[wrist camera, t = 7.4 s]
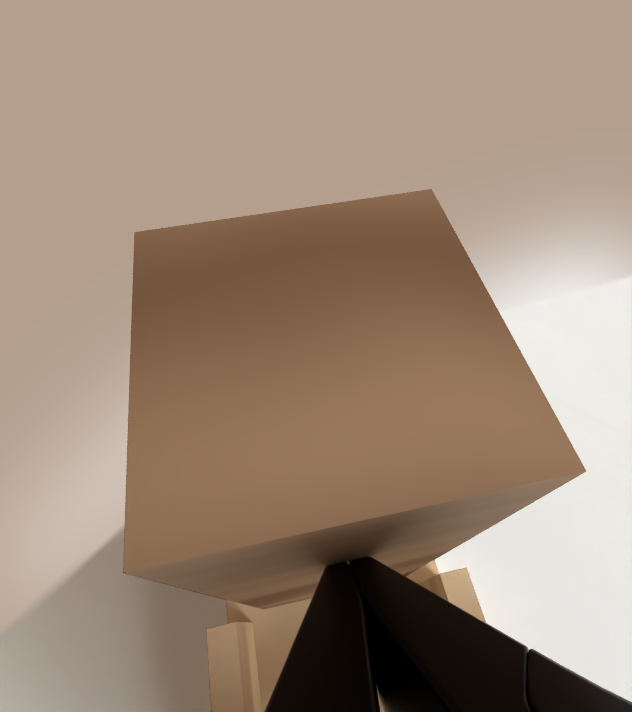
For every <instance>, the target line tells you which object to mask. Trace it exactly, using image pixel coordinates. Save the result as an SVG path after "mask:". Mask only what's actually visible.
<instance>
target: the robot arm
mask: <svg viewBox="0 0 632 712" xmlns="http://www.w3.org/2000/svg"><path fill="white" fill-rule="evenodd" d="M377 691H378V692H377ZM378 694H379V698H380V701H381V703H382V706H383V709H384V712H632V702H630V701H628V700H626V699H624V698H622V697H620V696H618V695H616V694H614V693H612V692H610V691H608V690H606V689H604V688H602V687H600V686H598V685H597V684H595V683H593V682H591V681H589V680H587V679H586V678H584V677H582V676H580V675H578V674H576V673H575V672H573V671H571V670H569V669H567V668H565V667H564V666H562V665H560V664H558V663H556V662H555V661H553V660H551V659H549V658H548V657H546V656H544V655H542V654H541V653H539V652H537V651H536V650H534V649H530V650H528V648H527V647H526V646H525V645H523V644H522V643H520V642H518V641H516V640H515V639H513V638H511V637H509V636H508V635H506V634H504V633H502V632H501V631H499V630H497V629H496V628H494V627H492V626H490V625H489V624H487V623H485V622H483V621H482V620H480V619H478V618H476V617H475V616H473V615H471V614H470V613H468V612H466V611H464V610H463V609H461V608H459V607H457V606H456V605H454V604H452V603H450V602H449V601H447V600H445V599H444V598H442V597H440V596H438V595H437V594H435V593H433V592H431V591H430V590H428V589H426V588H424V587H423V586H421V585H419V584H418V583H416V582H414V581H412V580H411V579H409V578H407V577H405V576H404V575H402V574H400V573H398V572H397V571H395V570H393V569H392V568H390V567H388V566H386V565H385V564H383V563H381V562H379V561H378V560H376V559H374V558H372V557H370V556H367V557H363V558H358V559H354V560H351V561H350V562H349V565H348V563H347V562H341V563H337V564H332V565H328V566H326V567H325V569H324V571H323V573H322V576H321V578H320V581H319V583H318V585H317V588H316V590H315V592H314V595H313V597H312V599H311V602H310V604H309V607H308V609H307V611H306V614H305V616H304V618H303V621H302V623H301V626H300V628H299V630H298V633H297V635H296V637H295V640H294V642H293V644H292V647H291V649H290V652H289V654H288V656H287V659H286V661H285V663H284V666H283V668H282V671H281V673H280V675H279V678H278V680H277V682H276V685H275V687H274V689H273V692H272V694H271V697H270V699H269V701H268V704H267V706H266V708H265V711H264V712H380V705H379V699H378Z"/></svg>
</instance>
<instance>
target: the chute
mask: <svg viewBox="0 0 632 712" xmlns="http://www.w3.org/2000/svg"><path fill="white" fill-rule="evenodd" d="M405 577H407V578H409V579H411V580H412V581H414V582H416V583H418V584H419V585H421V586H423V587H424V588H426V589H428V590H430V591H431V592H433V593H435V594H437V595H438V596H440V597H442V598H444V599H445V600H447V601H449V602H450V603H452V604H454V605H456V606H457V607H459V608H461V609H463V610H464V611H466V612H468V613H470V614H471V615H473V616H475V617H476V618H478V619H480V620H482V621H483V622H485V623H486V621H485V619H484V616H483V613H482V610H481V607H480V604H479V602H478V599H477V596H476V593H475V590H474V587H473V585H472V582H471V579H470V576H469V573H468V571H467V568H462V569H458V570H454V571H449V572H445V573H441V574H439V572H438V569H437V566H436V563H435V560H433V561H431V562H429V563H428V564H426V565H424V566H423V567H421V568H419V569H417V570H416V571H414V572H412V573H410V574H409V575H407V576H405ZM311 599H312V598H311ZM311 599H306V600H302V601H298V602H294V603H289V604H285V605H281V606H277V607H272V608H268V609H260V608H256V607H252V606H248V605H245V604H241V603H237V602H233V601H229V600H226V602H227V614H228V624H225V625H221V626H217V627H213V628H208V629H207V646H208V664H209V682H210V699H211V712H264V711H265V708H266V706H267V704H268V701H269V699H270V697H271V694H272V692H273V689H274V687H275V685H276V682H277V680H278V678H279V675H280V673H281V671H282V668H283V666H284V663H285V661H286V659H287V656H288V654H289V652H290V649H291V647H292V644H293V642H294V640H295V637H296V635H297V633H298V630H299V628H300V626H301V623H302V621H303V618H304V616H305V614H306V611H307V609H308V607H309V604H310V602H311ZM377 692H378V691H377ZM378 699H379V705H380V712H384V709H383V706H382V703H381V701H380V698H379V694H378Z"/></svg>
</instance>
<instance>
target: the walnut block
mask: <svg viewBox="0 0 632 712" xmlns="http://www.w3.org/2000/svg"><path fill="white" fill-rule="evenodd" d="M133 267H134V268H133V295H132V326H131V355H130V385H129V415H128V445H127V475H126V505H125V506H126V507H125V535H124V565H123V573H125V574H129V575H133V576H137V577H140V578H144V579H148V580H152V581H156V582H160V583H164V584H167V585H171V586H175V587H179V588H183V589H187V590H191V591H194V592H198V593H202V594H206V595H210V596H214V597H218V598H221V599H225V600H229V601H233V602H237V603H241V604H245V605H248V606H252V607H256V608H260V609H268V608H272V607H277V606H281V605H285V604H289V603H294V602H298V601H302V600H306V599H311V598H312V597H313V595H314V592H315V590H316V588H317V585H318V583H319V581H320V578H321V576H322V573H323V571H324V569H325V567H326V566H328V565H332V564H337V563H341V562H347V563H348V565H349V562H350V561H351V560H354V559H358V558H363V557H367V556H370V557H372V558H374V559H376V560H378V561H379V562H381V563H383V564H385V565H386V566H388V567H390V568H392V569H393V570H395V571H397V572H398V573H400V574H402V575H404V576H407V575H409V574H410V573H412V572H414V571H416V570H417V569H419V568H421V567H423V566H424V565H426V564H428V563H429V562H431V561H433V560H435V559H436V558H438V557H440V556H441V555H443V554H445V553H447V552H448V551H450V550H452V549H453V548H455V547H457V546H459V545H460V544H462V543H464V542H465V541H467V540H469V539H471V538H472V537H474V536H476V535H478V534H479V533H481V532H483V531H484V530H486V529H488V528H490V527H491V526H493V525H495V524H496V523H498V522H500V521H502V520H503V519H505V518H507V517H508V516H510V515H512V514H514V513H515V512H517V511H519V510H521V509H522V508H524V507H526V506H527V505H529V504H531V503H533V502H534V501H536V500H538V499H539V498H541V497H543V496H545V495H546V494H548V493H550V492H551V491H553V490H555V489H557V488H558V487H560V486H562V485H563V484H565V483H567V482H569V481H570V480H572V479H574V478H576V477H577V476H579V475H581V474H582V473H584V472H586V470H585V468H584V466H583V464H582V462H581V461H580V459H579V457H578V455H577V453H576V452H575V450H574V448H573V446H572V444H571V442H570V441H569V439H568V437H567V435H566V433H565V432H564V430H563V428H562V426H561V424H560V422H559V421H558V419H557V417H556V415H555V413H554V411H553V410H552V408H551V406H550V404H549V402H548V401H547V399H546V397H545V395H544V393H543V391H542V390H541V388H540V386H539V384H538V382H537V380H536V379H535V377H534V375H533V373H532V371H531V370H530V368H529V366H528V364H527V362H526V360H525V359H524V357H523V355H522V353H521V351H520V350H519V348H518V346H517V344H516V342H515V340H514V339H513V337H512V335H511V333H510V331H509V329H508V328H507V326H506V324H505V322H504V320H503V319H502V317H501V315H500V313H499V311H498V309H497V308H496V306H495V304H494V302H493V300H492V299H491V297H490V295H489V293H488V291H487V289H486V288H485V286H484V284H483V282H482V280H481V278H480V277H479V275H478V273H477V271H476V270H475V268H474V266H473V264H472V262H471V260H470V258H469V257H468V255H467V253H466V251H465V250H464V247H463V246H462V244H461V242H460V240H459V239H458V237H457V235H456V233H455V231H454V229H453V227H452V226H451V224H450V222H449V220H448V219H447V217H446V215H445V213H444V211H443V209H442V207H441V206H440V204H439V202H438V200H437V198H436V197H435V195H434V193H433V191H432V189H429V190H423V191H416V192H409V193H403V194H395V195H388V196H381V197H374V198H368V199H361V200H354V201H347V202H340V203H333V204H326V205H319V206H312V207H305V208H299V209H292V210H285V211H278V212H271V213H264V214H258V215H250V216H244V217H237V218H230V219H223V220H216V221H209V222H202V223H195V224H189V225H182V226H175V227H168V228H161V229H155V230H148V231H140V232H135V235H134V265H133Z"/></svg>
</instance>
